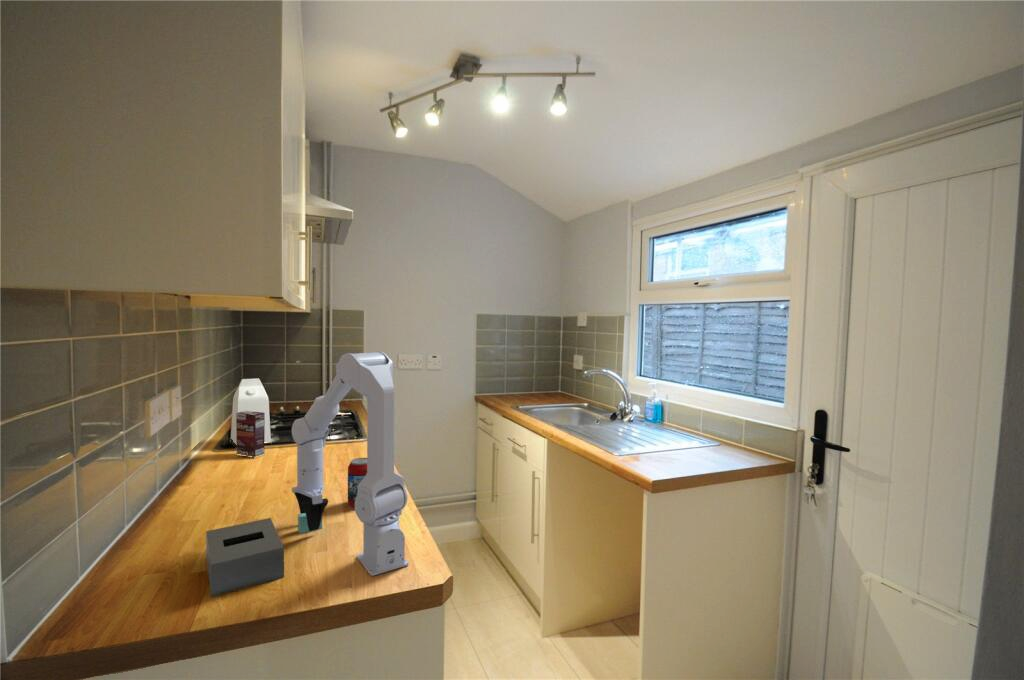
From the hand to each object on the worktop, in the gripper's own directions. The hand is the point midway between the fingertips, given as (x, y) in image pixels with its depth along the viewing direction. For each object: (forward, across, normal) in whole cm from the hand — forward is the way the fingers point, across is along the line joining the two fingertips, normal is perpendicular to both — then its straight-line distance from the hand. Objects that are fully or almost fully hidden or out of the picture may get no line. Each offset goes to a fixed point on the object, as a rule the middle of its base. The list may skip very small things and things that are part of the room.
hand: (310, 523), depth 112 cm
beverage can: (+2, -9, +15) cm, 18 cm away
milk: (+2, -91, -2) cm, 91 cm away
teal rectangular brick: (+2, 0, 0) cm, 2 cm away
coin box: (+1, +11, -15) cm, 19 cm away
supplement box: (+2, -74, -4) cm, 74 cm away
